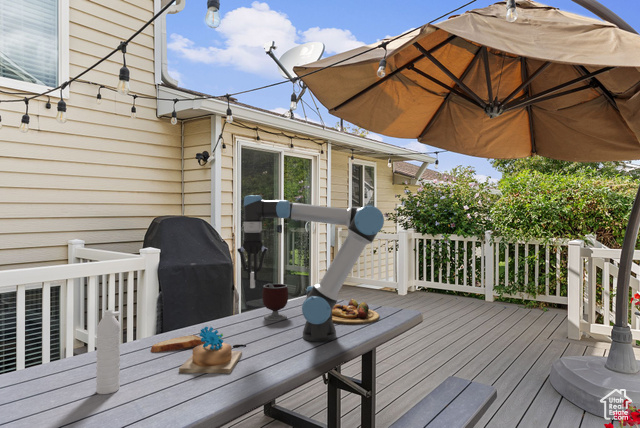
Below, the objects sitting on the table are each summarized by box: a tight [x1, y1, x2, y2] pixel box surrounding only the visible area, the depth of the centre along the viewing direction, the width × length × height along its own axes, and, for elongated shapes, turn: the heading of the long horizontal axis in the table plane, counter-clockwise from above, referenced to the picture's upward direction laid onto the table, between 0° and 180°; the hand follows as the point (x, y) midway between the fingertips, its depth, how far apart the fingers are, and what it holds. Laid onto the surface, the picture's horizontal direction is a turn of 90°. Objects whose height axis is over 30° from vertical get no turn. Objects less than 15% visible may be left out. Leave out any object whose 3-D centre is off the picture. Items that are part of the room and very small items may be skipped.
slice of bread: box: [150, 334, 206, 353], centre depth 167 cm, size 18×18×4 cm
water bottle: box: [95, 309, 121, 395], centre depth 124 cm, size 9×6×25 cm
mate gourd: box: [261, 282, 289, 321], centre depth 214 cm, size 16×14×20 cm
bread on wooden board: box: [178, 342, 243, 374], centre depth 147 cm, size 18×18×6 cm
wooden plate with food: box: [332, 298, 380, 326], centre depth 216 cm, size 32×32×8 cm
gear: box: [198, 326, 224, 350], centre depth 148 cm, size 11×6×10 cm
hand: (252, 287), depth 168 cm, fingers closed
